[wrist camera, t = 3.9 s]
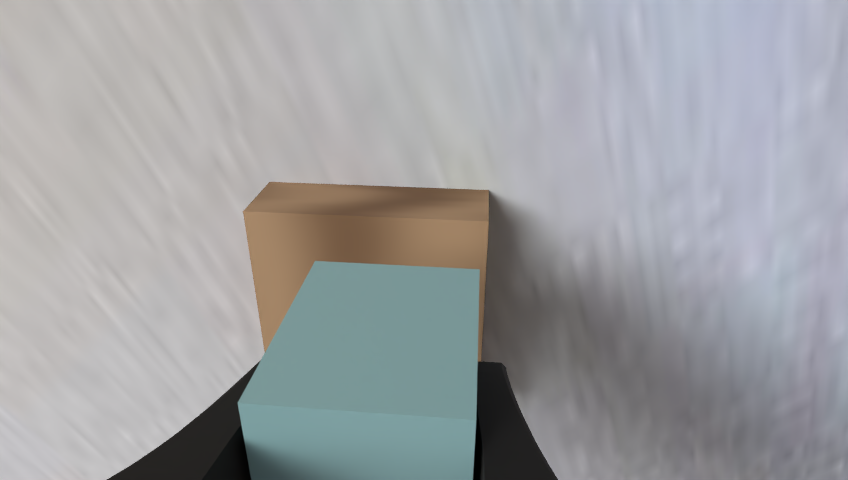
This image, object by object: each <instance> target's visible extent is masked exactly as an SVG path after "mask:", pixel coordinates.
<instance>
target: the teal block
mask: <svg viewBox="0 0 848 480" xmlns="http://www.w3.org/2000/svg"><path fill="white" fill-rule="evenodd" d="M479 277H480V269H464V268H444V267H424V266H405V265H385V264H365V263H346V262H326V261H315V262H314V264H313V266H312V268H311V269H310V271H309V273H308V275H307V277H306V279H305V280H304V282H303V284H302V286H301V288H300V290H299V291H298V293H297V295H296V297H295V299H294V301H293V302H292V304H291V306H290V308H289V310H288V312H287V313H286V315H285V317H284V319H283V321H282V323H281V324H280V326H279V328H278V330H277V332H276V334H275V335H274V337H273V339H272V341H271V343H270V345H269V346H268V348H267V350H266V352H265V354H264V356H263V357H262V359H261V361H260V363H259V365H258V367H257V368H256V370H255V372H254V374H253V376H252V378H251V379H250V381H249V383H248V385H247V387H246V389H245V390H244V392H243V394H242V396H241V398H240V400H239V401H238V408H239V414H240V419H241V425H242V430H243V436H244V442H245V447H246V453H247V458H248V464H249V470H250V475H251V480H473V468H474V451H475V434H476V412H477V367H478V322H479Z"/></svg>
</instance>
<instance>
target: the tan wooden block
mask: <svg viewBox="0 0 848 480" xmlns="http://www.w3.org/2000/svg"><path fill="white" fill-rule="evenodd" d="M243 214H244V220H245V227H246V233H247V240H248V246H249V253H250V259H251V266H252V272H253V279H254V285H255V292H256V298H257V305H258V311H259V318H260V324H261V331H262V337H263V344H264V350H265V352H266V350H267V348H268V346H269V345H270V343H271V341H272V339H273V337H274V335H275V334H276V332H277V330H278V328H279V326H280V324H281V323H282V321H283V319H284V317H285V315H286V313H287V312H288V310H289V308H290V306H291V304H292V302H293V301H294V299H295V297H296V295H297V293H298V291H299V290H300V288H301V286H302V284H303V282H304V280H305V279H306V277H307V275H308V273H309V271H310V269H311V268H312V266H313V264H314V262H315V261H326V262H346V263H365V264H385V265H405V266H424V267H444V268H464V269H480V277H479V322H478V362H481V353H482V335H483V317H484V299H485V281H486V263H487V245H488V227H489V190H469V189H443V188H416V187H389V186H363V185H336V184H309V183H283V182H269V183H268V184H267V185H266V187H265V188H264V189H263V190H262V191H261V192H260V193H259V194H258V195H257V197H256V198H255V199H254V200H253V201H252V202H251V203H250V204H249V205H248V207H247V208H246V209H245V210H244V211H243Z"/></svg>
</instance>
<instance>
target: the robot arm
mask: <svg viewBox="0 0 848 480" xmlns="http://www.w3.org/2000/svg"><path fill="white" fill-rule="evenodd" d="M259 363H260V361H259V362H258V363H257V364H256V365H255V366H254V367H253V368H252V369H251V370H250V371H249V372H248V373H247V374H245V375H244V376H243V377H242V378H241V379H240V380H239V381H238V382H237V383H236V384H235V385H234V386H232V387H231V388H230V389H229V390H228V391H227V392H226V393H225V394H223V395H222V396H221V397H220V398H219V399H218V400H217V401H216V402H214V403H213V404H212V405H211V406H210V407H209V408H208V409H206V410H205V411H204V412H203V413H202V414H200V415H199V416H198V417H197V418H195V419H194V420H193V421H192V422H190V423H189V424H188V425H187V426H185V427H184V428H183V429H182V430H180V431H179V432H178V433H177V434H175V435H174V436H173V437H171V438H170V439H169V440H167V441H166V442H164V443H163V444H162V445H160V446H159V447H157V448H156V449H154V450H153V451H152V452H150V453H149V454H147V455H146V456H144V457H143V458H141V459H140V460H138V461H137V462H135V463H134V464H132V465H131V466H129V467H127V468H126V469H124V470H122V471H121V472H119V473H117V474H116V475H114V476H112V477H111V478H109V479H107V480H251V475H250V470H249V464H248V458H247V453H246V447H245V442H244V436H243V430H242V425H241V419H240V414H239V408H238V401H239V400H240V398H241V396H242V394H243V392H244V390H245V389H246V387H247V385H248V383H249V381H250V379H251V378H252V376H253V374H254V372H255V370H256V368H257V367H258V365H259ZM473 480H558V479H557V477H556V476H555V474H554V473H553V471H552V469H551V468H550V466H549V464H548V463H547V461H546V459H545V457H544V456H543V454H542V452H541V450H540V449H539V447H538V445H537V443H536V441H535V439H534V437H533V436H532V433H531V431H530V429H529V427H528V425H527V423H526V421H525V419H524V417H523V415H522V413H521V410H520V408H519V406H518V403H517V401H516V398H515V396H514V394H513V391H512V388H511V385H510V382H509V379H508V375H507V371H506V367H505V366H504V365H503V364H502V363H494V362H478V367H477V412H476V434H475V451H474V468H473Z"/></svg>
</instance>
